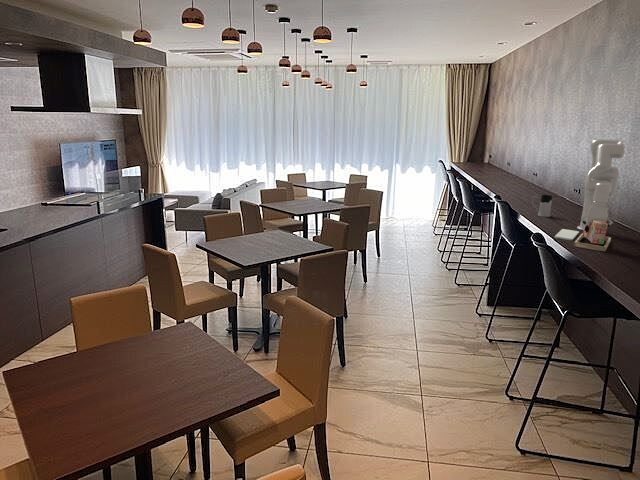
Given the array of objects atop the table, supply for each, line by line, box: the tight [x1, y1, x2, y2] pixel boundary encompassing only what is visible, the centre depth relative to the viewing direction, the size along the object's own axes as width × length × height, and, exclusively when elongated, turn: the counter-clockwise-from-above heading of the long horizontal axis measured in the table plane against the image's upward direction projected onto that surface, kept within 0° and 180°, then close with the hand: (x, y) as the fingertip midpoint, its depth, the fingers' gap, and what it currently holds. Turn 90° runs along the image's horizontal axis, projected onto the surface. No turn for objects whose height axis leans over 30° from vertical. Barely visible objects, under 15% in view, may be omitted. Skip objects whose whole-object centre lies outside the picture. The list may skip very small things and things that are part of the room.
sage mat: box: [554, 228, 580, 241], centre depth 315 cm, size 26×10×1 cm, turn 145°
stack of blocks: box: [582, 219, 609, 245], centre depth 295 cm, size 21×6×12 cm, turn 166°
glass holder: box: [531, 194, 553, 218], centre depth 375 cm, size 9×14×15 cm, turn 57°
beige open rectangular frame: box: [573, 232, 612, 252], centre depth 296 cm, size 29×16×2 cm, turn 145°
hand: (594, 233), depth 295 cm, fingers closed on stack of blocks, 7 cm apart
